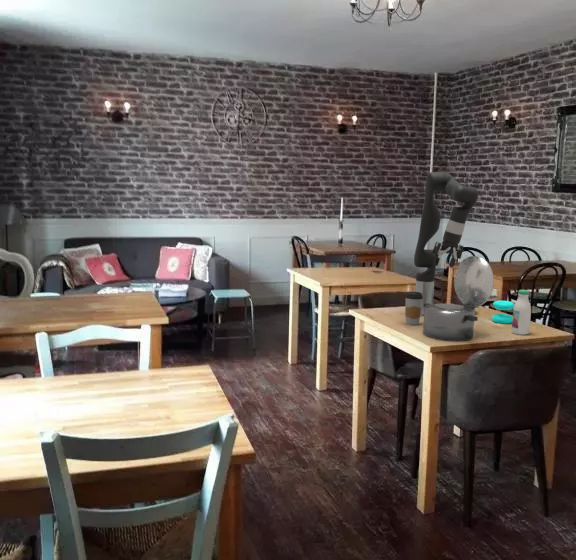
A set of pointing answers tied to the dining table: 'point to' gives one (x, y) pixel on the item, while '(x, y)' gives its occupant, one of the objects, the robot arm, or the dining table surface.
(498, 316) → the donuts
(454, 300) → the pine cone
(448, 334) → the cooking pot
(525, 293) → the milk bottle
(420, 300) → the coffee cup
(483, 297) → the lid
